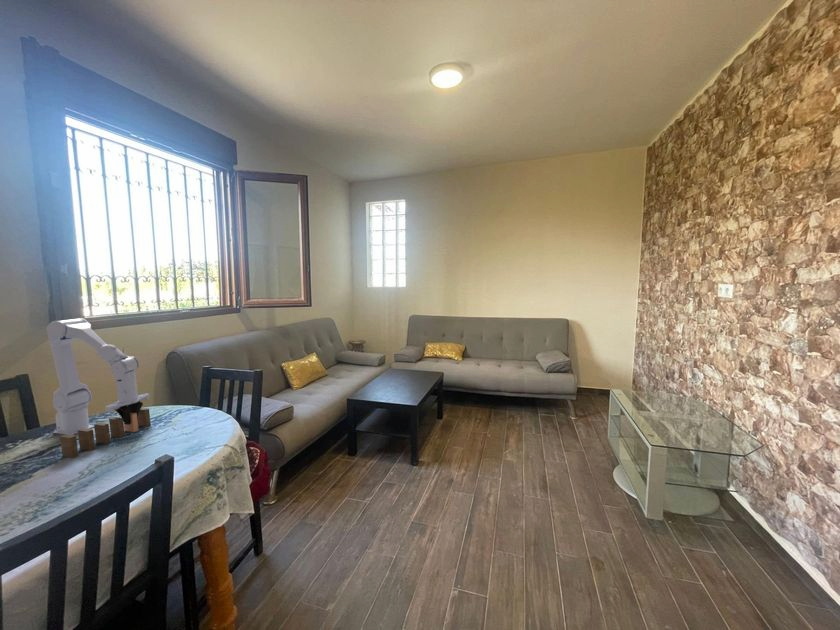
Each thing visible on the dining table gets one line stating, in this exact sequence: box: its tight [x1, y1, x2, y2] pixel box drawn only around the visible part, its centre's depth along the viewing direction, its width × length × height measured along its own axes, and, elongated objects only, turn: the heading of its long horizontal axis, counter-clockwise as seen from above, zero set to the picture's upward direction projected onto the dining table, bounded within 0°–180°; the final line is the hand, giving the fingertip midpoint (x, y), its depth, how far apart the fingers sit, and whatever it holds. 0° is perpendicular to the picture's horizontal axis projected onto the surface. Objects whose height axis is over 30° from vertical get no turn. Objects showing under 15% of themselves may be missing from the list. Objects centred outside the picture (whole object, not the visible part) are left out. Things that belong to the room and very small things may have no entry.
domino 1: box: [59, 434, 79, 459], centre depth 112 cm, size 2×5×7 cm, turn 76°
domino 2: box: [77, 428, 96, 452], centre depth 117 cm, size 2×5×7 cm, turn 76°
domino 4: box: [108, 416, 126, 439], centre depth 126 cm, size 2×5×7 cm, turn 77°
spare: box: [124, 413, 139, 433], centre depth 131 cm, size 2×5×7 cm, turn 77°
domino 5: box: [137, 407, 151, 428], centre depth 135 cm, size 2×5×7 cm, turn 76°
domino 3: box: [93, 422, 112, 445], centre depth 121 cm, size 2×5×7 cm, turn 77°
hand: (130, 422), depth 131 cm, fingers closed
